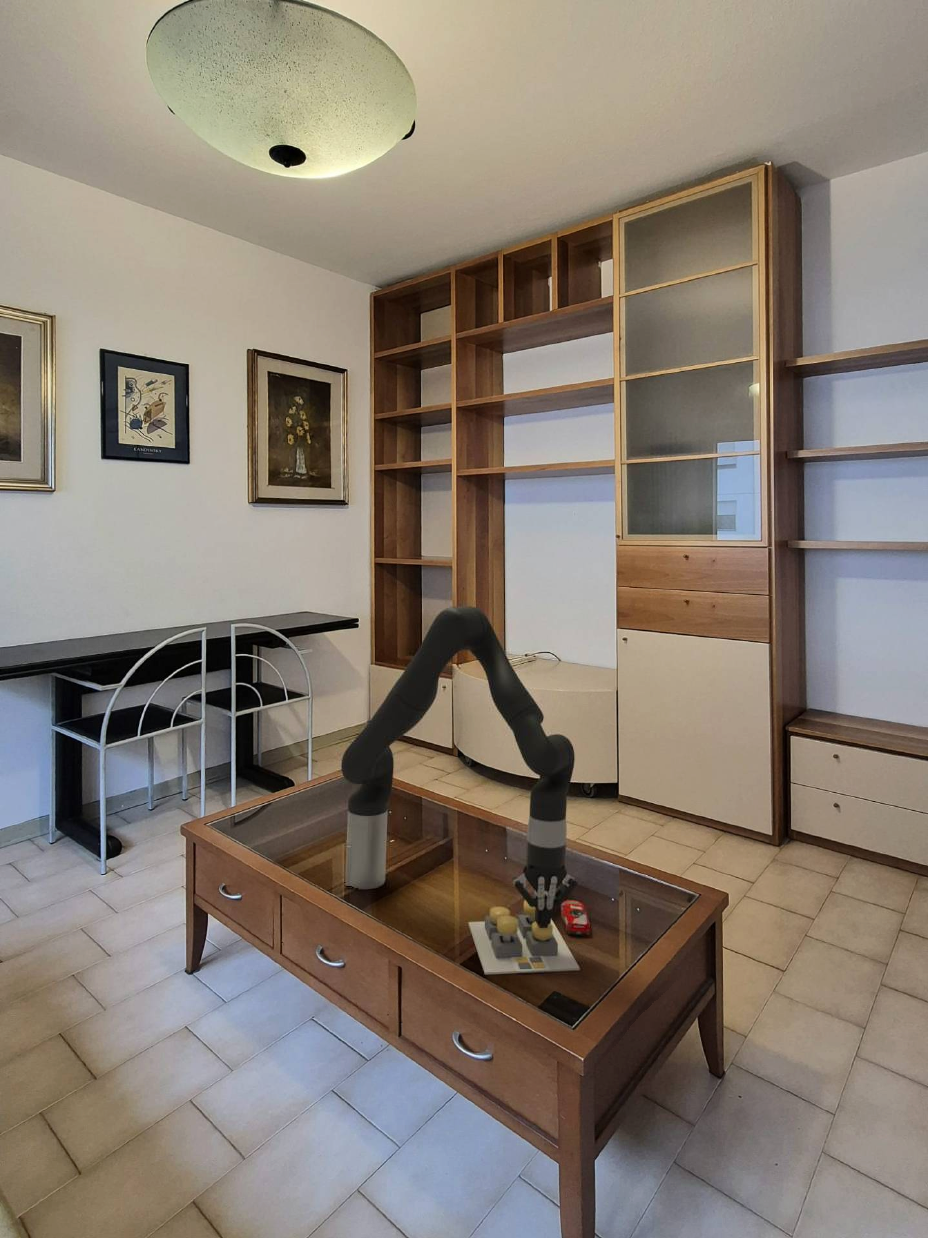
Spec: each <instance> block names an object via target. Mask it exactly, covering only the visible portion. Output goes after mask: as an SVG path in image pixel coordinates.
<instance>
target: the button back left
mask: <svg viewBox="0 0 928 1238" xmlns="http://www.w3.org/2000/svg"><path fill="white" fill-rule="evenodd" d="M489 916H490V921H491V922H492V923H494V924H495V925H497V919H498V918H499V917H500V916H511V911H510V909H508V908H506V907H505V906H504V907H503V906H494V907H491V908H490V909H489Z"/></svg>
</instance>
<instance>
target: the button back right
mask: <svg viewBox="0 0 928 1238" xmlns="http://www.w3.org/2000/svg"><path fill="white" fill-rule="evenodd" d="M523 913H524V914H525V915H529V924H533V923H534V922H536V921H535V907H530V906H529V904H528V903H527V902H526V900H525V899H524V901H523Z"/></svg>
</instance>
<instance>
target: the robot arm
mask: <svg viewBox="0 0 928 1238" xmlns="http://www.w3.org/2000/svg"><path fill="white" fill-rule="evenodd" d="M462 651H463V652H465V651H469V652H470V653H471V654H472V655H473V656H474V657H475V658H476V660H477V661H478V662H479V664H480V665H481V667H482V669H483V671H484V673H485V675H486V679H487V682H488V684H487V685H488V687H489V692H490V696H491V699H492V701H493V703H494V705H495V707H496V709H497V711H498V712H499V714H500V716H501V717H502V719H503V720H504V721H505V723H506V724H507V725H508V727H509V729H510V730H511V731H512V733H513V736H514V739H515V742H516V744H517V746H518V747H517V748H518V750H519V752H520V755H521V757H522V759H523V761H524V763H525V764H526V766H527V767H528V769H530V770H531V771H532V772H533V773H534V774H536V775H538V776H539V779H538V780H537V782H536V783H535V785H533V786H532V788H531V792H530V797H529V814H528V815H529V817H528V822H527V831H526V856H525V859H526V860H525V863H526V864H525V866H524V868H523V870H522V873H521V875H520V876H514V877H513V878H512V883H513V885H514V887H515V888H516V890H517V892H518V893H519V894H520V895H521V896H522V898H523V899H524V901H525V900H526V902H527V903H528V904H529V906H530V907H535V921H536V923H537V925H539V927H540V928H548V925H550V923H551V919H552V909H553V908H554V907H556V906H557V907H560V905H561V904H562V903H563V902H564V901H566V900H567V898H568V897H569V895H571V893H572V892H573V890H575V888H576V887H577V885H578V882H577V880H576V878H574V876H573V875H570V874H569V873H568V871H567V868H566V854H567V853H566V852H567V831H568V830H567V801H568V800H567V798H568V797H567V795H568V791H569V788H570V786H571V781H572V777H573V771H574V768H575V762H576V761H575V760H576V758H575V749H574V746H573V743H572V742H571V740H570V739H569V738H568V737H566V736H564V735H562V734H558V733H556V734H554V733H553V734H550V735H546V732H545V730H544V729H543V725H542V723H543V721H544V718H545V717H544V713H543V711H542V709H541V708H540V706H539V705H538V704H537V702H536V701H535V700H534V698H533V697H532V695H531V694H530V692H529V691H528V689H527V688H526V687H525V685H524V684H523V682H522V680H520V678H519V676H518V674H517V672H516V671H515V669H514V667H513V666H512V664H511V661H510V660H509V658H508V656H507V654H506V652H505V650H504V649H503V646H502V645H501V642H500V641H499V638H498V636H497V634H496V632H495V630H494V628H493V626H492V624H491V622H490V620H489V618H488V617H487V615H486V614H485V612H484V611H482V609H480V608H478V607H477V606H476V607H475V606H470V605H469V606H467V605H466V606H464V605H463V606H450V607H447V608H445V609H443V610H441V611H440V612H439V613H438V614H437V615H436V617H435V618H434V620H433V621H432V623H431V625H430V627H429V629H428V630H427V633H426V635H425V637H424V638H423V640H422V642H421V644H420V646H419V648H418V649H417V651H416V653H415V654H414V656H413V658H412V659H411V660H410V661H409V663H408V665H406V668H405V670H404V671H403V673H402V674H401V675H400V676H399V678H398V679H397V681H396V682H395V683H394V685H393V686H392V687H391V689H390V691H389V692H388V694H387V696H385V699H384V700H383V702H382V703H381V705H380V706H379V707H378V708H377V710H376V712H375V713H374V714H373V716H372V718H371V719H370V721H369V722H368V723H367V724H366V726H365V727H364V729H362V731H361V732H360V733H359V734H358V735H357V737H355V739H354V740H353V741H351V743H350V744H349V746H348V747H346V749H345V751H344V753H343V756H342V758H341V763H340V764H341V765H340V767H341V768H340V769H341V772H342V776H343V778H344V779H345V781H347V782H348V783H351V784H353V785H359V787H358V788H357V789H356V791H354V792H353V793H352V794H351V795H350V796H349V798H348V801H347V828H346V851H345V852H346V853H345V855H346V857H345V882H346V883H345V885H347V886H352V887H354V888H353V889H356V888H358V889H357V890H371V889H372V890H373V889H377V888H379V887H381V886H383V885H384V884H385V883H386V882H385V881H386V867H387V866H386V863H387V861H386V859H387V858H386V857H387V836H388V835H387V833H388V806H389V802H390V800H391V798H392V792H393V779H394V767H395V765H394V764H395V763H394V756H393V755H394V754H393V751H392V748H391V747H390V746H391V745H392V744H394V743H395V742H396V741H397V740H398V739H400V738H402V737H403V736H404V735H406V734H407V733H408V732H409V731H411V730H412V729H413V728H414V727H415V726H416V725H418V723H420V721H421V720H422V719H423V718H424V717H425V716H426V714H427V712H428V711H429V710H430V708H431V707H432V705H433V703H434V702H435V700H436V698H437V694H438V689H439V679H440V676H441V674H442V672H443V671H444V669H445V668H446V666H447V665H448V663H450V662H451V660H452V659H453V658H454V657H455V656H456V655H457V654H458V653H460V652H462ZM527 882H528V883H529V885H530V886H531V887H532V889H533V892H534V897H533V896H532V894H530V892H529V891H528V890H527V888H526V887H527ZM345 885H344V886H345ZM352 887H351V888H352Z"/></svg>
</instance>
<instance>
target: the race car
mask: <svg viewBox="0 0 928 1238" xmlns="http://www.w3.org/2000/svg"><path fill="white" fill-rule="evenodd" d="M587 908H588V907H587V906H586V905H585V906H584V904H583V903H582V902H580V901H577V900H573V899H565V901H564V902H563V903H562V904H561V905H560V906H559V911H560V916H561V920H562V923H563V927H564V930H565V932H566V933H567V934H568V935H572V936H584V937H585V936H589V935H590V933H591V924H590V921H589V917H588V913H587V910H586V909H587Z"/></svg>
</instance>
